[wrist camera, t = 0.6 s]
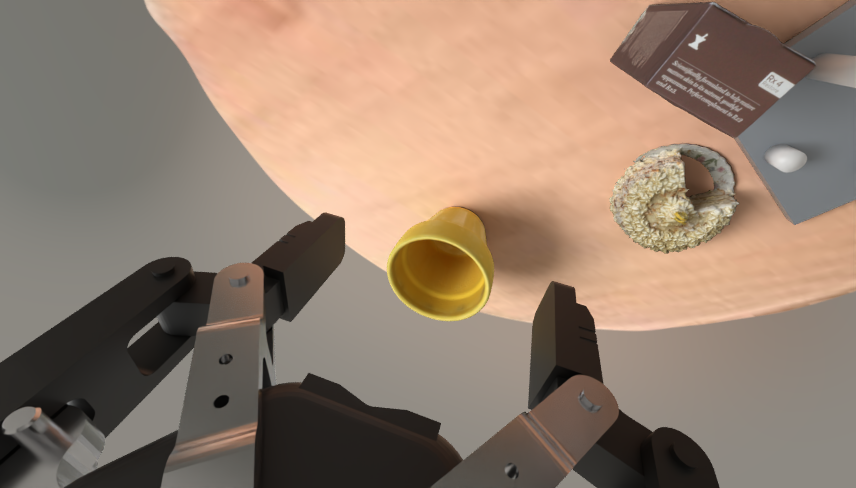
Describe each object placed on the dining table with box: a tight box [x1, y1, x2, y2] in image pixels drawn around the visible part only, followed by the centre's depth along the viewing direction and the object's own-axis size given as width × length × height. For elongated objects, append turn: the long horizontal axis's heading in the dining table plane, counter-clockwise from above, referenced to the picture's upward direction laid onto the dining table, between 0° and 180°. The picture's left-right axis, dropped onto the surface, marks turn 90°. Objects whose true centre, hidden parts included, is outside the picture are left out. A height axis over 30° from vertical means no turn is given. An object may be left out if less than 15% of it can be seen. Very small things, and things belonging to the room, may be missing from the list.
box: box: [610, 2, 816, 138], centre depth 21 cm, size 6×4×12 cm
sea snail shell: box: [609, 144, 739, 254], centre depth 30 cm, size 10×10×5 cm
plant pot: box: [387, 207, 494, 321], centre depth 36 cm, size 10×10×10 cm
